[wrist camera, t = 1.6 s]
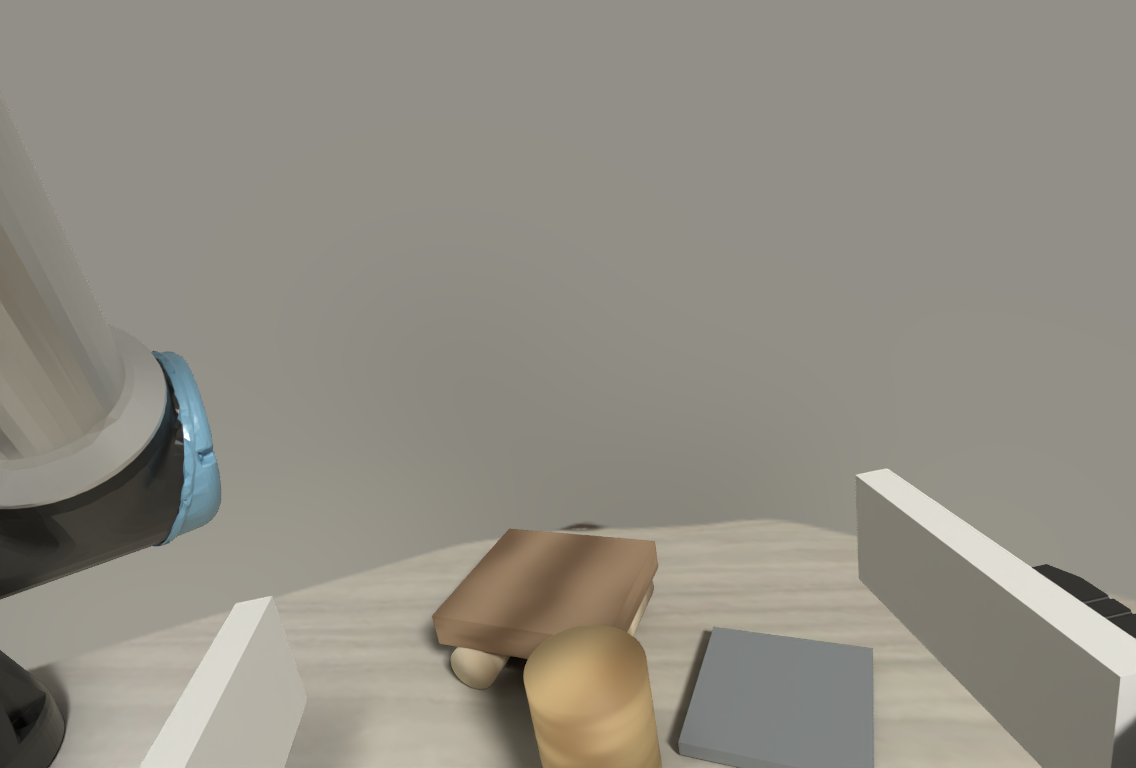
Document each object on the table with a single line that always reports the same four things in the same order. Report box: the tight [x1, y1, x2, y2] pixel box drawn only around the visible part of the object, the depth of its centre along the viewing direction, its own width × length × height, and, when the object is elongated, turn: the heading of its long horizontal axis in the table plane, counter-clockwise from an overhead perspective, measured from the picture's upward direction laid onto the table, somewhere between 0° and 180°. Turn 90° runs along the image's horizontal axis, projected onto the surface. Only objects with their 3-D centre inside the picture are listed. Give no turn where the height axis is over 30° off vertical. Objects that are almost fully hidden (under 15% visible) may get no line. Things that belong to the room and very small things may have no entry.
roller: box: [524, 625, 662, 768], centre depth 29 cm, size 5×5×10 cm
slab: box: [432, 529, 658, 689], centre depth 43 cm, size 11×10×5 cm
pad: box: [678, 627, 874, 768], centre depth 36 cm, size 9×9×1 cm
